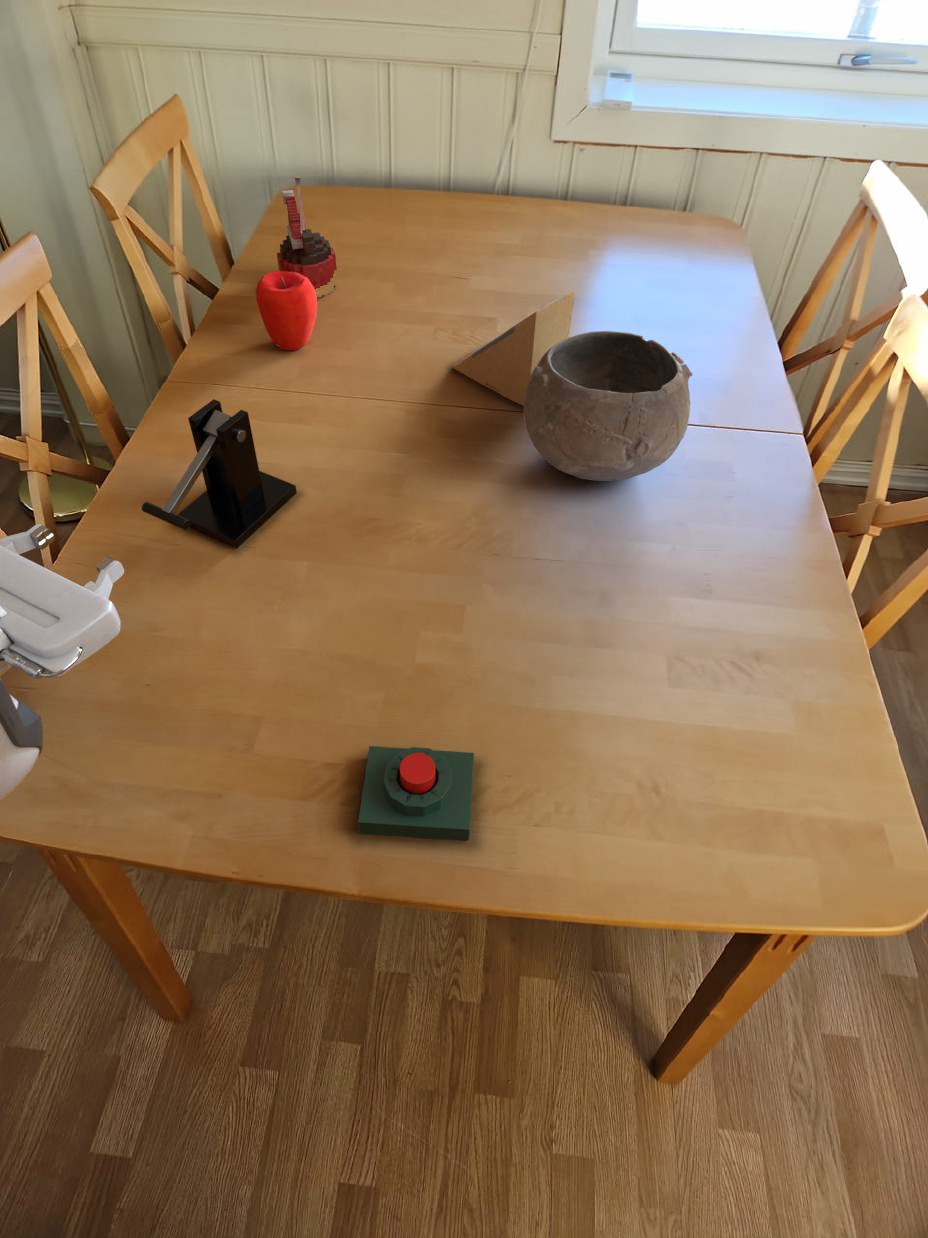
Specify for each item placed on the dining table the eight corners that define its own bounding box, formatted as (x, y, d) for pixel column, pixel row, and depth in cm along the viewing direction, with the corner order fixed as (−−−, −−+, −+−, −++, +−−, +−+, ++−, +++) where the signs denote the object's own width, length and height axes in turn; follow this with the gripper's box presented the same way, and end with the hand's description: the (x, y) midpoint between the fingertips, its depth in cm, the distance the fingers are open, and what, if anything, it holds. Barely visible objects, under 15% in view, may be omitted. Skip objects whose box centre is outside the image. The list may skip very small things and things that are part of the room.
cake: (342, 300, 139) (333, 187, 125) (287, 306, 137) (271, 193, 123) (331, 271, 145) (321, 161, 132) (278, 276, 143) (262, 166, 130)
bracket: (236, 548, 98) (214, 455, 88) (178, 523, 101) (150, 429, 91) (296, 493, 105) (282, 400, 95) (241, 470, 108) (221, 378, 98)
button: (398, 792, 73) (397, 782, 72) (402, 761, 75) (401, 751, 74) (433, 795, 73) (434, 785, 72) (436, 764, 75) (436, 754, 74)
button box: (359, 833, 74) (356, 812, 71) (370, 758, 80) (368, 735, 77) (468, 841, 74) (470, 820, 71) (473, 764, 80) (475, 742, 77)
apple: (326, 331, 132) (319, 265, 124) (313, 360, 126) (305, 293, 118) (271, 327, 132) (261, 260, 124) (257, 355, 126) (245, 288, 118)
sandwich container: (487, 346, 130) (493, 252, 119) (563, 385, 124) (576, 290, 112) (450, 367, 126) (452, 271, 115) (526, 408, 119) (536, 311, 108)
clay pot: (495, 478, 109) (503, 378, 97) (551, 398, 121) (564, 302, 110) (649, 527, 103) (676, 428, 92) (690, 438, 116) (719, 341, 105)
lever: (189, 534, 92) (178, 524, 89) (148, 515, 93) (136, 506, 91) (252, 431, 95) (243, 420, 93) (211, 416, 97) (202, 404, 94)
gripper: (34, 663, 68) (152, 561, 76) (-127, 573, 74) (-2, 489, 82) (60, 707, 73) (169, 607, 81) (-93, 619, 79) (22, 535, 87)
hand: (82, 547), depth 82 cm, fingers open, 8 cm apart
